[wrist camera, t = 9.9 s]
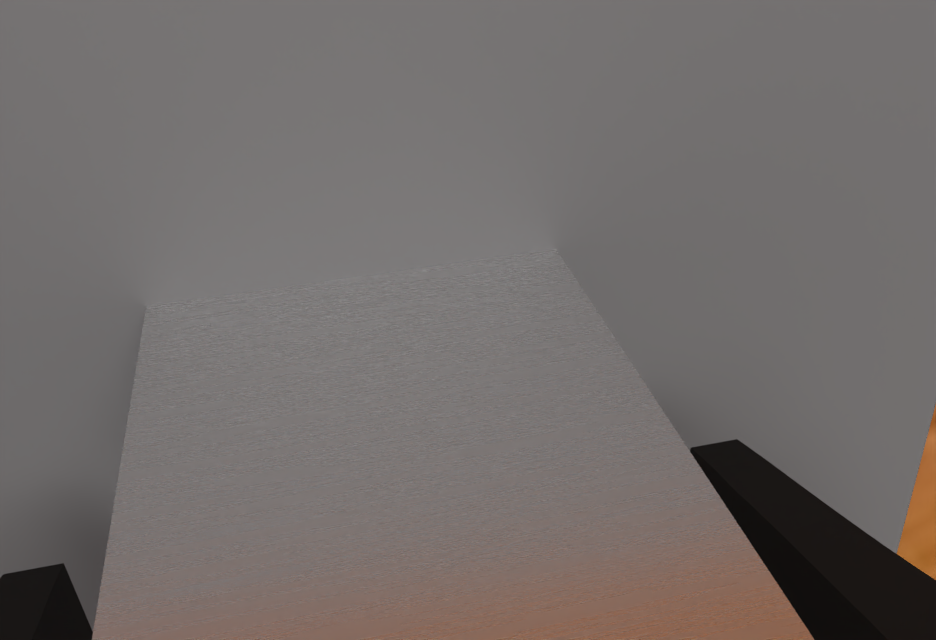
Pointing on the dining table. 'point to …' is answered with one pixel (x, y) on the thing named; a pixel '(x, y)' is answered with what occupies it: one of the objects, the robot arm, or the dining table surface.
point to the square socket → (415, 474)
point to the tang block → (477, 208)
